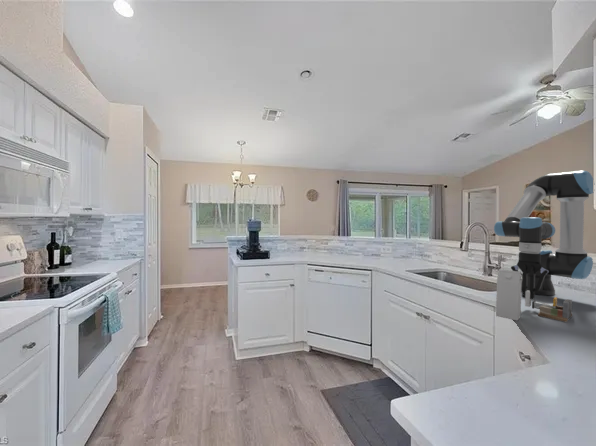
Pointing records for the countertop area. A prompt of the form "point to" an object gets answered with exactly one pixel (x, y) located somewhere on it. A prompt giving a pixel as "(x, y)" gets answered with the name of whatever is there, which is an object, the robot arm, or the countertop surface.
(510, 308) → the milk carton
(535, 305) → the plunger
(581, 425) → the countertop surface
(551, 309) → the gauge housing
